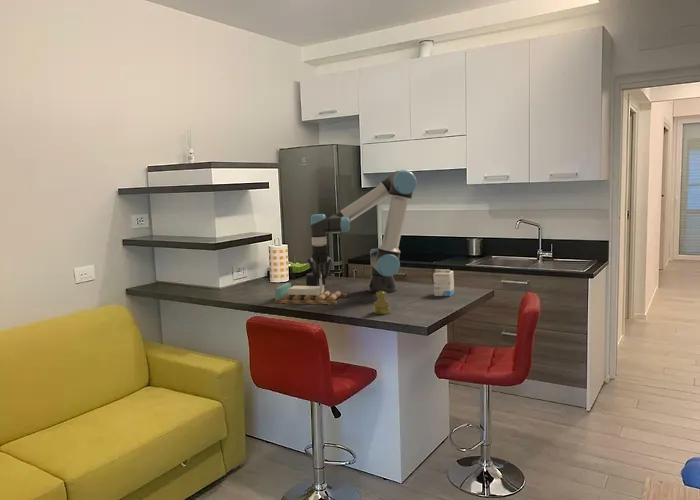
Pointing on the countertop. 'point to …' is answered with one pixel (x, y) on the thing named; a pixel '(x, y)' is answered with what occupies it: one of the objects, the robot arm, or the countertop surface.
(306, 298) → the roller bed
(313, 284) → the small box
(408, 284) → the countertop surface
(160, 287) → the countertop surface
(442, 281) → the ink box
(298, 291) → the slab
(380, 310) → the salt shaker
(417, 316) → the countertop surface
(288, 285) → the block
